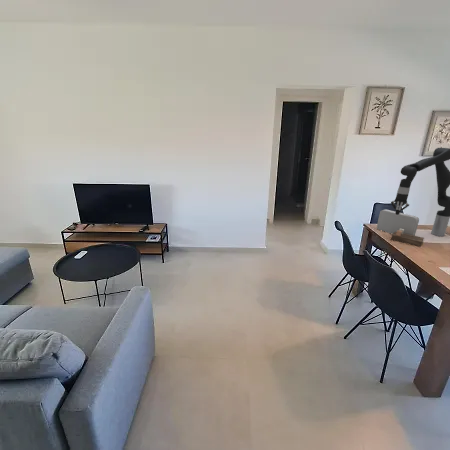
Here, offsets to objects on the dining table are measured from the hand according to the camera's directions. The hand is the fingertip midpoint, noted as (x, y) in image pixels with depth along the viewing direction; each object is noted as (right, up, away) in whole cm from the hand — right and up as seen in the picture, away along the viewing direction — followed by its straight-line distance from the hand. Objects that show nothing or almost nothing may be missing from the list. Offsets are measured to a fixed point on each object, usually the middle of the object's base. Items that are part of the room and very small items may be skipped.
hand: (397, 214), depth 218 cm
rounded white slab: (+9, -16, +19) cm, 26 cm away
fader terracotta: (+3, -16, +2) cm, 17 cm away
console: (+9, -21, +2) cm, 23 cm away
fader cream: (+7, -15, +6) cm, 18 cm away
